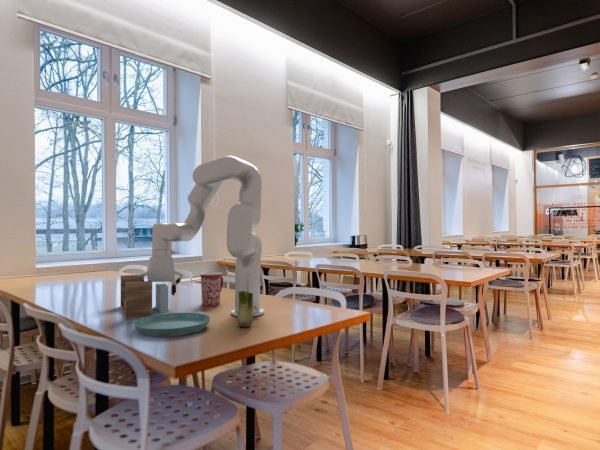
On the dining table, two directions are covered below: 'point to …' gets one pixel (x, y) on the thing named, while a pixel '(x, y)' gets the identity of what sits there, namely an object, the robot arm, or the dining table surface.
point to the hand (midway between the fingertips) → (160, 295)
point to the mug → (211, 288)
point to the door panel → (162, 297)
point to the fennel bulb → (245, 309)
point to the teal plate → (171, 324)
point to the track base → (136, 297)
